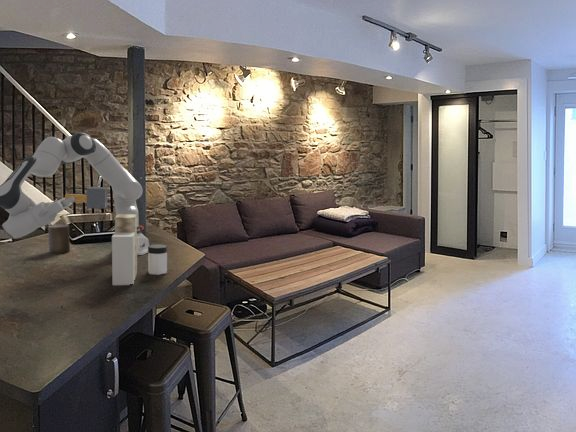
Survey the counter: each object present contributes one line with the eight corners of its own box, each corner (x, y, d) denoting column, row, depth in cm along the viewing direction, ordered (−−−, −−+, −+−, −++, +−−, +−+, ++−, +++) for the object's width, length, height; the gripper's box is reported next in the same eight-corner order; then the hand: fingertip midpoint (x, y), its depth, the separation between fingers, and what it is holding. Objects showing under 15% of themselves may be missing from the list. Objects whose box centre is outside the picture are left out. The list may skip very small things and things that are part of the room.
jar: (160, 268, 221) (160, 243, 219) (171, 272, 216) (171, 246, 214) (143, 272, 214) (143, 246, 213) (154, 276, 209) (154, 249, 208)
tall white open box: (112, 285, 193) (111, 236, 190) (115, 279, 202) (114, 232, 199) (133, 284, 195) (132, 236, 192) (135, 278, 204) (134, 232, 201)
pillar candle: (73, 251, 248) (73, 223, 246) (56, 254, 240) (55, 225, 238) (62, 249, 253) (61, 221, 251) (44, 252, 245) (43, 223, 243)
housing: (64, 207, 193) (63, 187, 192) (68, 205, 199) (67, 186, 198) (104, 208, 196) (104, 188, 195) (107, 206, 203) (107, 187, 202)
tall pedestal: (115, 277, 204) (115, 217, 200) (118, 272, 212) (117, 214, 209) (135, 277, 206) (135, 217, 202) (137, 272, 214) (136, 214, 211)
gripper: (32, 209, 184) (66, 192, 186) (46, 203, 204) (76, 188, 205) (41, 224, 185) (74, 207, 187) (54, 216, 205) (84, 200, 207)
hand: (76, 197), depth 196 cm, fingers closed on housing, 3 cm apart
